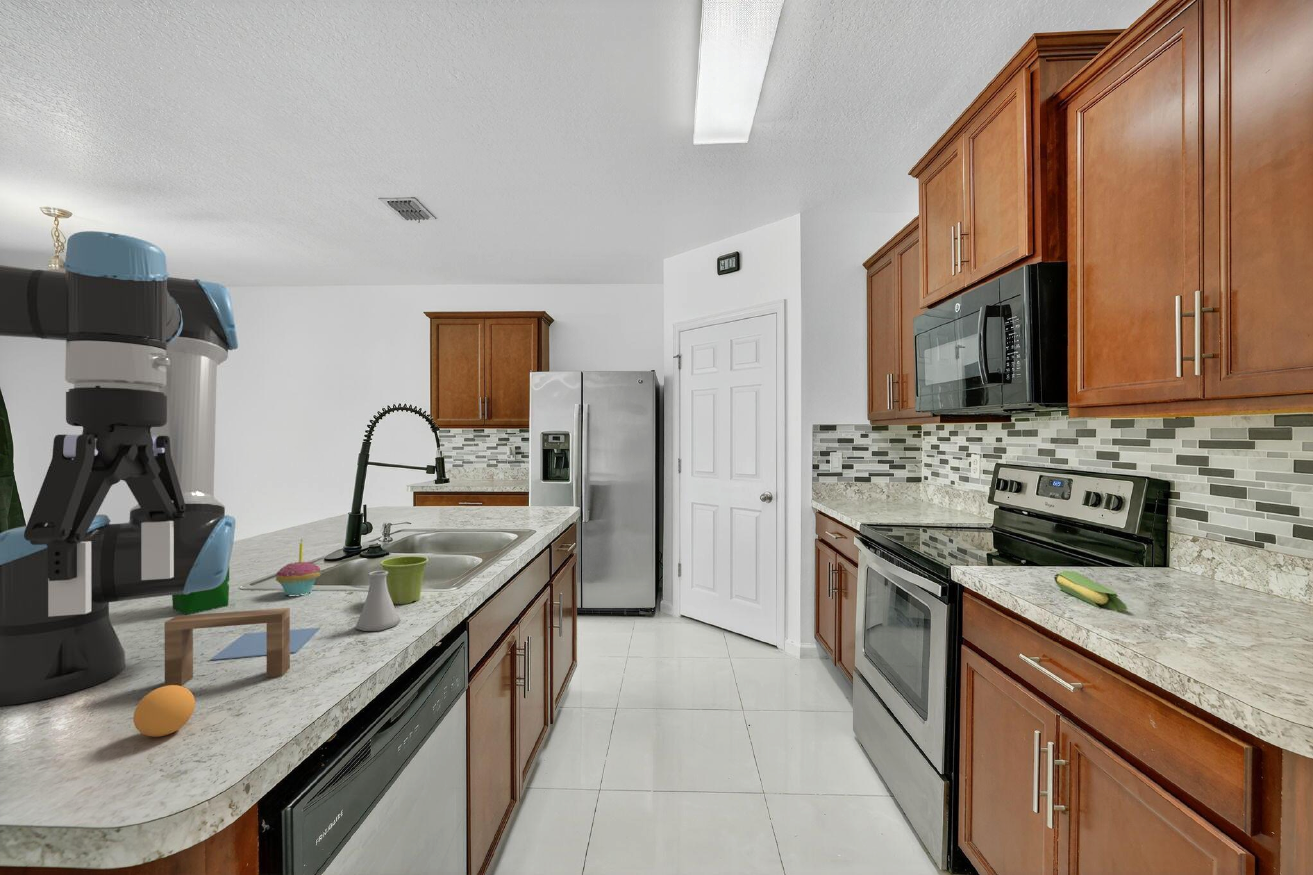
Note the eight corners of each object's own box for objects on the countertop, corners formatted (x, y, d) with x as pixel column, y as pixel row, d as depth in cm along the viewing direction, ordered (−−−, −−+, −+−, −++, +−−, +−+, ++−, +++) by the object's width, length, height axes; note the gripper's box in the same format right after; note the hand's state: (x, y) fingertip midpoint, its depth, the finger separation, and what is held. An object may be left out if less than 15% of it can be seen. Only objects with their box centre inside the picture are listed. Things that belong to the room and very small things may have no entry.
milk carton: (165, 609, 114) (165, 512, 114) (218, 598, 122) (218, 507, 122) (182, 617, 109) (182, 515, 109) (236, 605, 117) (236, 510, 117)
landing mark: (209, 660, 88) (209, 659, 88) (244, 634, 99) (244, 633, 99) (296, 652, 91) (296, 651, 91) (319, 628, 103) (319, 627, 103)
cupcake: (283, 590, 128) (283, 538, 128) (325, 587, 131) (325, 536, 131) (270, 600, 120) (270, 545, 120) (315, 597, 123) (314, 542, 123)
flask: (382, 633, 100) (381, 578, 100) (346, 631, 101) (346, 576, 101) (407, 620, 107) (407, 568, 107) (374, 618, 108) (374, 567, 108)
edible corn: (1075, 570, 129) (1054, 564, 130) (1134, 597, 109) (1110, 590, 110) (1067, 591, 129) (1047, 584, 130) (1126, 622, 110) (1101, 614, 110)
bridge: (282, 676, 82) (282, 613, 82) (164, 687, 78) (164, 622, 78) (289, 667, 85) (289, 607, 85) (176, 678, 81) (176, 615, 81)
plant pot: (428, 592, 126) (428, 554, 126) (427, 604, 117) (427, 563, 117) (382, 597, 123) (382, 557, 123) (378, 609, 114) (378, 567, 114)
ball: (121, 749, 63) (121, 700, 63) (151, 725, 68) (151, 680, 68) (179, 742, 64) (179, 694, 64) (204, 719, 70) (204, 675, 70)
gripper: (75, 376, 47) (76, 630, 46) (219, 398, 71) (219, 565, 70) (-42, 373, 44) (-42, 639, 44) (147, 397, 68) (148, 569, 68)
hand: (118, 594), depth 57 cm, fingers open, 13 cm apart
